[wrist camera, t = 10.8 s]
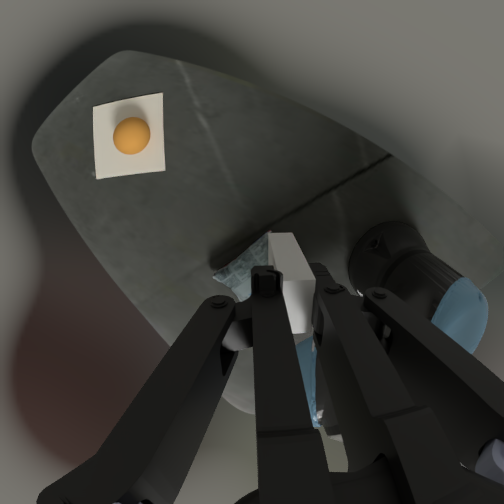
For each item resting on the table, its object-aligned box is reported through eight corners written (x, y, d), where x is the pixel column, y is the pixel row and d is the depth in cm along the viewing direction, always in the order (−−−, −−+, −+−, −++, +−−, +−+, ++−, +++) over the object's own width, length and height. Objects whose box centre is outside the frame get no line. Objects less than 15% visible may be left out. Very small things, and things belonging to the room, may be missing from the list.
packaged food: (302, 264, 45) (307, 278, 40) (245, 306, 48) (245, 322, 43) (268, 224, 43) (270, 233, 38) (210, 270, 45) (206, 284, 41)
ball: (103, 123, 31) (121, 121, 36) (109, 161, 33) (127, 155, 38) (137, 112, 30) (153, 113, 35) (143, 152, 33) (158, 148, 38)
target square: (162, 92, 35) (162, 92, 34) (165, 170, 39) (165, 170, 39) (93, 107, 35) (93, 107, 34) (97, 178, 39) (96, 179, 39)
